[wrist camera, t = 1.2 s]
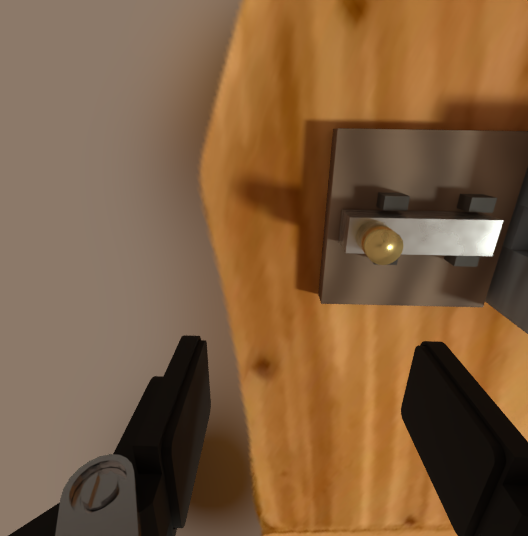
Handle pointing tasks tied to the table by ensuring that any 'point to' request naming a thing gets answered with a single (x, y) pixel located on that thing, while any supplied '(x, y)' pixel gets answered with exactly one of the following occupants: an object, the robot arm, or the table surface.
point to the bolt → (417, 233)
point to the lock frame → (430, 199)
